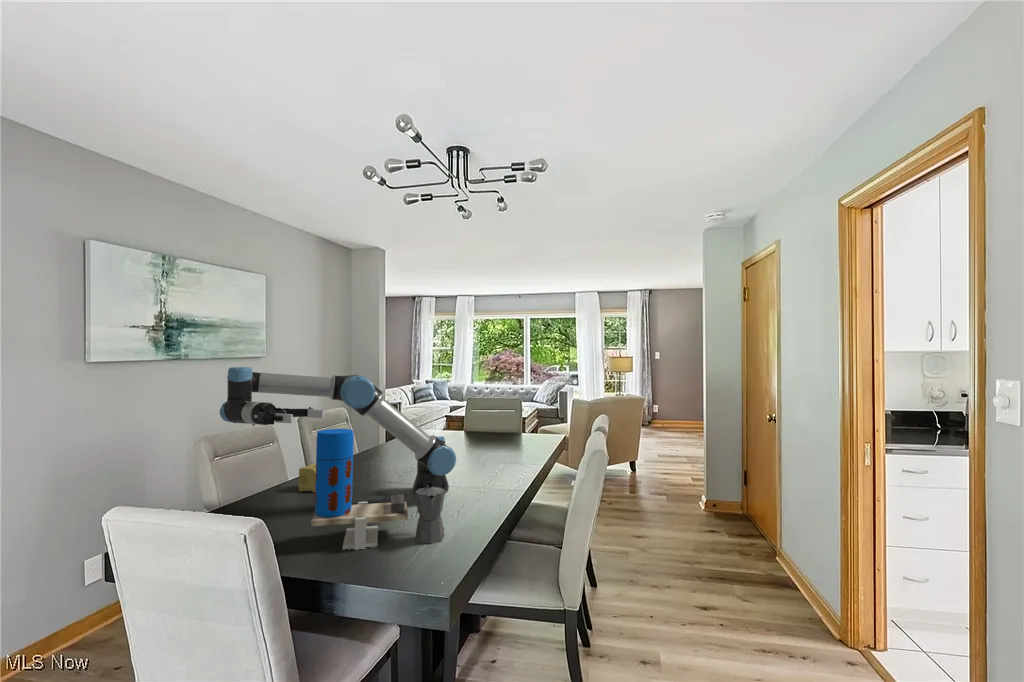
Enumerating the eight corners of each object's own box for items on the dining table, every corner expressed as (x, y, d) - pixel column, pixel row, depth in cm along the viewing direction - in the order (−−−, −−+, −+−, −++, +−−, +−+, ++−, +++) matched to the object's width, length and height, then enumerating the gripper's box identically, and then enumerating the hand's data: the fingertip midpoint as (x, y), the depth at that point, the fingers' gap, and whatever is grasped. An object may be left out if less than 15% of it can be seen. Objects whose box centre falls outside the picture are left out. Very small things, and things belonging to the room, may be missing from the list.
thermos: (358, 508, 158) (360, 429, 159) (336, 519, 148) (338, 434, 149) (330, 504, 161) (332, 427, 162) (307, 514, 151) (309, 432, 152)
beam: (406, 506, 167) (406, 492, 167) (407, 519, 153) (408, 504, 153) (317, 511, 160) (317, 497, 160) (311, 526, 146) (311, 510, 147)
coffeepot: (446, 545, 151) (447, 485, 152) (415, 547, 149) (415, 487, 150) (442, 528, 166) (442, 474, 167) (413, 530, 164) (414, 475, 165)
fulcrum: (378, 527, 166) (378, 500, 167) (377, 548, 149) (377, 517, 149) (347, 530, 164) (347, 502, 164) (342, 551, 146) (342, 520, 147)
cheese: (319, 493, 208) (320, 469, 208) (296, 491, 210) (297, 468, 210) (333, 486, 218) (333, 463, 218) (311, 485, 220) (312, 462, 220)
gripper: (288, 420, 180) (335, 423, 173) (226, 429, 157) (276, 433, 149) (289, 399, 181) (335, 401, 173) (227, 405, 157) (277, 408, 150)
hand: (308, 416), depth 161 cm, fingers open, 13 cm apart
